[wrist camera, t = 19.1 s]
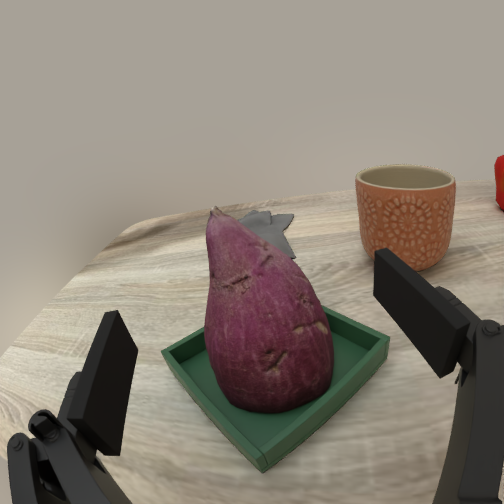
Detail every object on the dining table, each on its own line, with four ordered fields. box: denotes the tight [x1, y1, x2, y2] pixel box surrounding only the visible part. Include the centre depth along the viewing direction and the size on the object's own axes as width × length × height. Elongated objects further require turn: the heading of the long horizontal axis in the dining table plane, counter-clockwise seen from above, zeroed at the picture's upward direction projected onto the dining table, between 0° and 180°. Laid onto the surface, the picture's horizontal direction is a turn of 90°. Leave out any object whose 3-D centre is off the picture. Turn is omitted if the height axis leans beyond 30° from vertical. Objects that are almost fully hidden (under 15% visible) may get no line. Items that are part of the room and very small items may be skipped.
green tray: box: [161, 305, 390, 473], centre depth 24 cm, size 14×14×3 cm
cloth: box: [238, 210, 296, 258], centre depth 49 cm, size 26×14×2 cm, turn 172°
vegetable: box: [204, 206, 334, 413], centre depth 22 cm, size 10×10×15 cm
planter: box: [355, 164, 456, 272], centre depth 33 cm, size 12×12×11 cm
